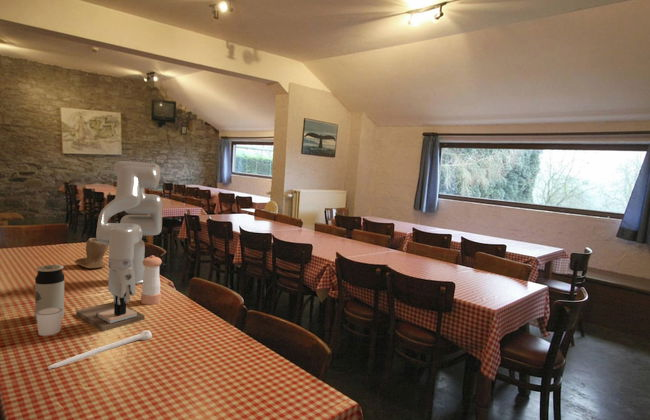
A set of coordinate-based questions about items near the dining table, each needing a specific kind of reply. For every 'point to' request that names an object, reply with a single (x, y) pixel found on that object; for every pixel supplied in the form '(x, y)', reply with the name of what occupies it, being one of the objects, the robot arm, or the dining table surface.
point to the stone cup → (93, 254)
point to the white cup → (49, 320)
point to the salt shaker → (151, 281)
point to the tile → (111, 317)
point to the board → (101, 324)
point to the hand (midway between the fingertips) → (120, 314)
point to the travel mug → (49, 288)
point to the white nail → (103, 348)
